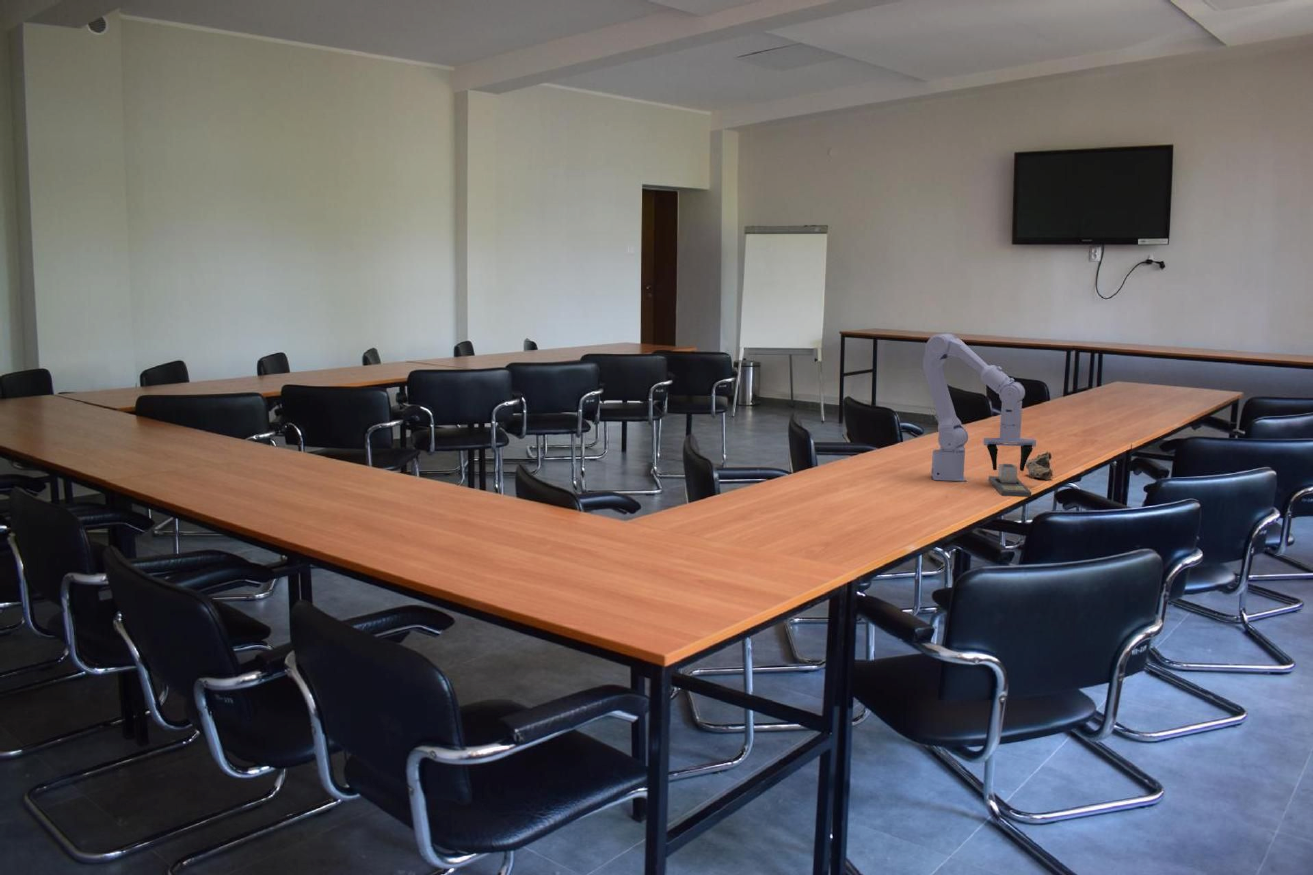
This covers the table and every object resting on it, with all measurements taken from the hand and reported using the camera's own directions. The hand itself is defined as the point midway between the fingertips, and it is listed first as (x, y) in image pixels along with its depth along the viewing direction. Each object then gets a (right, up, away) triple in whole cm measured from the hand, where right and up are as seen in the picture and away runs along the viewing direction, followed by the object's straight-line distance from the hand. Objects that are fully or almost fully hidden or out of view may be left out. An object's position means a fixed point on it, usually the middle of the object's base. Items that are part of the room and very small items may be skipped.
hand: (1008, 470), depth 305 cm
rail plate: (-1, -5, -3) cm, 6 cm away
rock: (+14, -3, +13) cm, 19 cm away
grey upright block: (0, -5, +1) cm, 5 cm away
